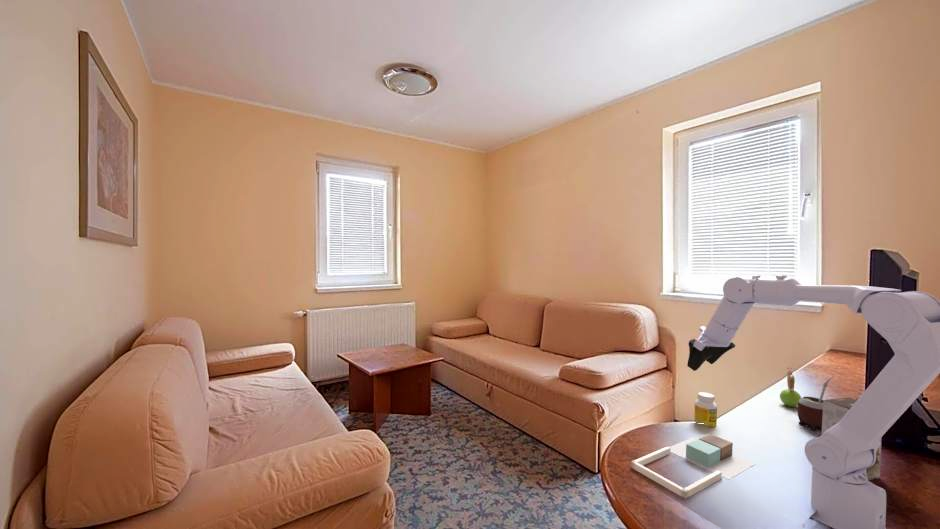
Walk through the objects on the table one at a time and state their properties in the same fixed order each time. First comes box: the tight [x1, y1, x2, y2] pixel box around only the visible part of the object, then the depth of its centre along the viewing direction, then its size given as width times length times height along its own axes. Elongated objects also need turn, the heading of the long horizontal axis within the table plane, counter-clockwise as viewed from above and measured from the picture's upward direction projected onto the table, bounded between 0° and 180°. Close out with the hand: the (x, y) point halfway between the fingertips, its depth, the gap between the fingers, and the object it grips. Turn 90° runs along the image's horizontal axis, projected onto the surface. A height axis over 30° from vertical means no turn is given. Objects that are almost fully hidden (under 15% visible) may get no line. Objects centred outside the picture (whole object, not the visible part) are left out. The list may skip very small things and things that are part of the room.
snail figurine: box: [779, 366, 802, 408], centre depth 122 cm, size 5×6×12 cm
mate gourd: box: [797, 374, 834, 432], centre depth 106 cm, size 8×8×15 cm
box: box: [630, 446, 723, 500], centre depth 80 cm, size 12×14×3 cm
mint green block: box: [686, 438, 721, 468], centre depth 86 cm, size 5×5×3 cm
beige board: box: [669, 436, 756, 480], centre depth 87 cm, size 14×12×2 cm
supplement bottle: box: [693, 391, 718, 428], centre depth 105 cm, size 5×5×10 cm
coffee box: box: [820, 396, 883, 481], centre depth 84 cm, size 9×6×16 cm
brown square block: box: [698, 433, 734, 461], centre depth 89 cm, size 5×5×3 cm
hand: (700, 364), depth 95 cm, fingers open, 7 cm apart
